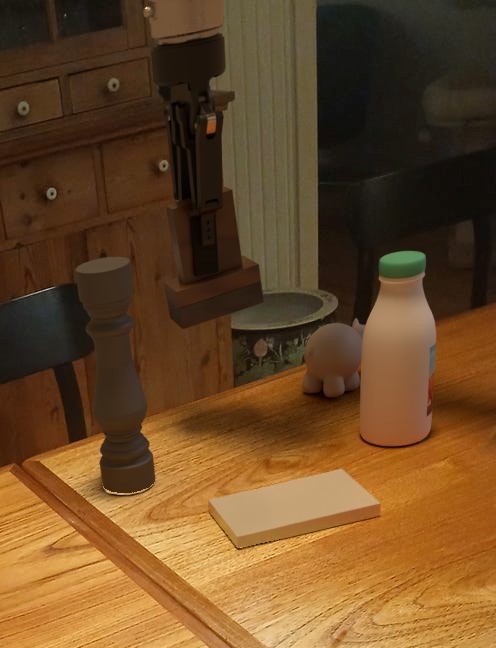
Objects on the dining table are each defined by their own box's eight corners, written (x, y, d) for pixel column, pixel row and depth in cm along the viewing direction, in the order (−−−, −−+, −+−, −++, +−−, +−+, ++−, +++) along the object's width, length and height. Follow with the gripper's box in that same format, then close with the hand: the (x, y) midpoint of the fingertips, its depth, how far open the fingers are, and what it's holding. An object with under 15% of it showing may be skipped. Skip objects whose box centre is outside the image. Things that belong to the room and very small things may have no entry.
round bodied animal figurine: (401, 375, 127) (404, 309, 123) (333, 405, 123) (334, 338, 119) (358, 364, 133) (360, 300, 128) (292, 393, 129) (291, 328, 124)
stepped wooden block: (248, 292, 119) (233, 180, 112) (264, 302, 115) (249, 186, 108) (170, 318, 119) (149, 207, 112) (182, 329, 115) (162, 215, 108)
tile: (341, 480, 107) (342, 468, 106) (380, 515, 99) (381, 502, 98) (208, 512, 106) (207, 499, 105) (237, 549, 99) (237, 536, 98)
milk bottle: (416, 451, 109) (427, 267, 98) (348, 443, 114) (351, 266, 103) (440, 423, 114) (453, 245, 103) (373, 417, 118) (379, 245, 107)
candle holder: (153, 468, 117) (130, 252, 104) (157, 491, 112) (134, 267, 98) (101, 476, 118) (72, 262, 104) (103, 499, 113) (73, 277, 99)
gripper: (132, 42, 108) (151, 262, 121) (174, 46, 95) (191, 293, 108) (198, 28, 108) (210, 249, 121) (249, 30, 95) (257, 278, 108)
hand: (201, 269), depth 114 cm, fingers closed on stepped wooden block, 3 cm apart
